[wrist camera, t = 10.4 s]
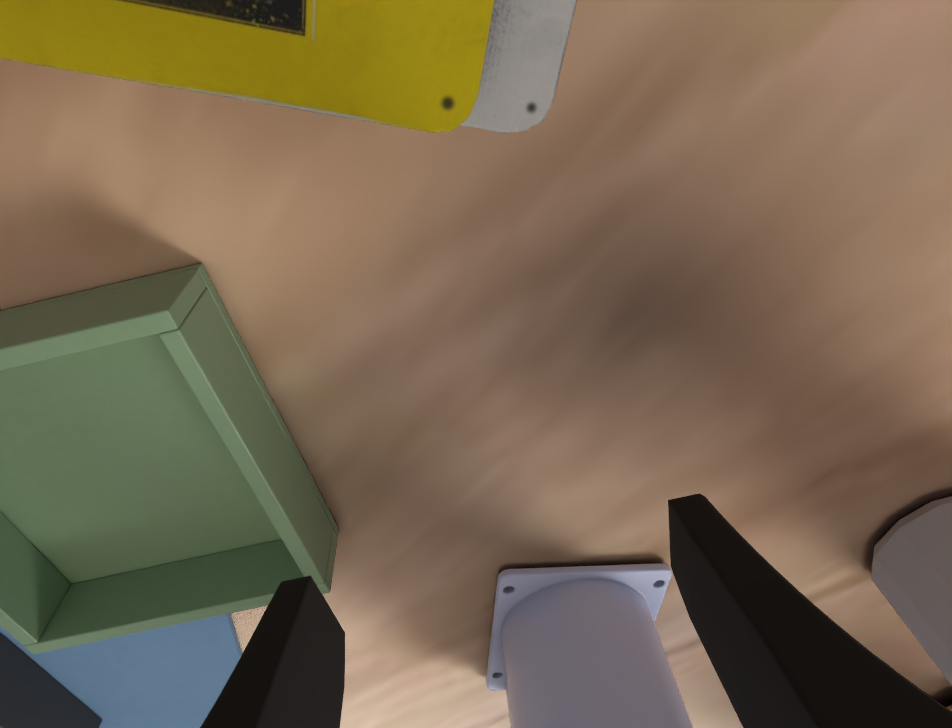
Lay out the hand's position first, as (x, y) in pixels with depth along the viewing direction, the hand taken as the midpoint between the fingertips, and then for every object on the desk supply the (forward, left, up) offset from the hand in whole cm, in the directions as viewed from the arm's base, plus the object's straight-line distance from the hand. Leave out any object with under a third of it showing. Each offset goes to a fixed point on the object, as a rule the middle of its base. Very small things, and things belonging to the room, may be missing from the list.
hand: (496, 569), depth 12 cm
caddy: (-5, +12, -9) cm, 16 cm away
